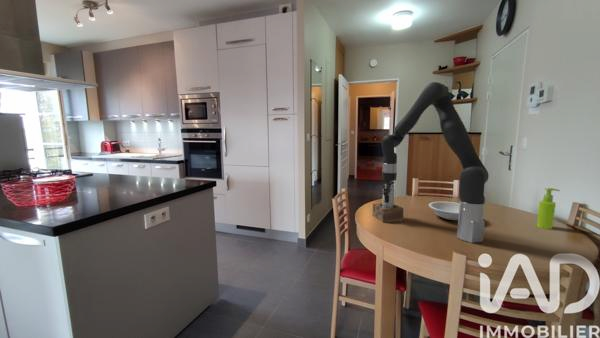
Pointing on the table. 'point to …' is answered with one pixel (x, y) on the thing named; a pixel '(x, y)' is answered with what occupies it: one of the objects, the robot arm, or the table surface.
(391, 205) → the energy drink can
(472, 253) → the table surface
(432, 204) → the white vessel sink
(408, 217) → the table surface
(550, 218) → the soap dispenser
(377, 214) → the square wooden frame
